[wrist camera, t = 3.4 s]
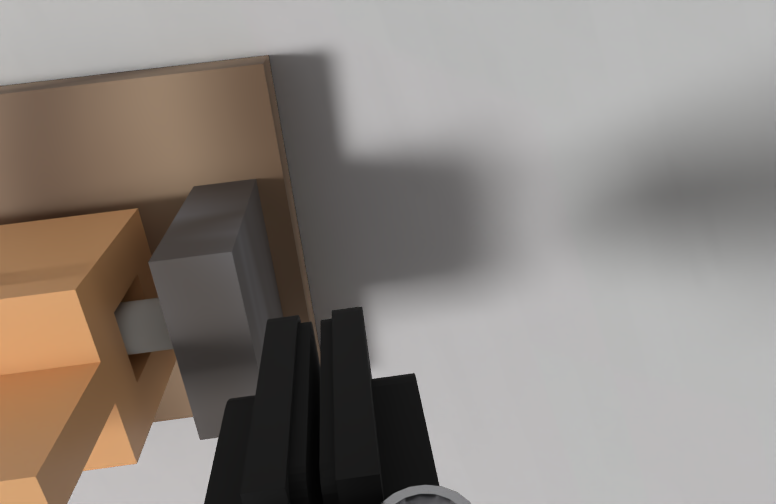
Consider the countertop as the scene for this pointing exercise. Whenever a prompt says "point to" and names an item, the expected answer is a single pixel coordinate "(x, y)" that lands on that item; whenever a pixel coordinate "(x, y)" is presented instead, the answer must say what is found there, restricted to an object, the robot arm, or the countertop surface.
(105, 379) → the orange sliding block
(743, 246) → the countertop surface
